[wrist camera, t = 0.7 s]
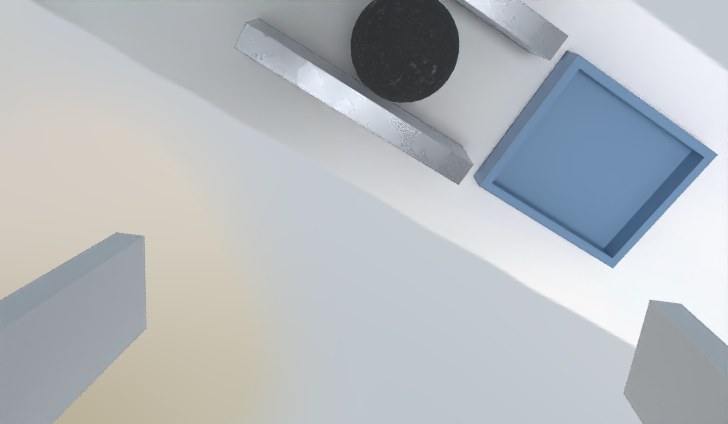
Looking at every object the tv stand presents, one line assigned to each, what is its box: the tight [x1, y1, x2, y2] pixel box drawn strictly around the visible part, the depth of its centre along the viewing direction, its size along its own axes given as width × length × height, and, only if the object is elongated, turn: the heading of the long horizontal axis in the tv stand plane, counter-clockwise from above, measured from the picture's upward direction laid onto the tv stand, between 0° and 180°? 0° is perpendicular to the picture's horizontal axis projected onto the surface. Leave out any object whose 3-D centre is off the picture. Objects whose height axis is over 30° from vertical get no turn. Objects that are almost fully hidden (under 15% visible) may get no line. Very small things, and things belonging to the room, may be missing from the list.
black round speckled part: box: [351, 0, 459, 102], centre depth 29 cm, size 6×6×10 cm
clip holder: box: [234, 0, 568, 185], centre depth 32 cm, size 16×11×4 cm
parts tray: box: [474, 51, 718, 268], centre depth 36 cm, size 12×10×2 cm
